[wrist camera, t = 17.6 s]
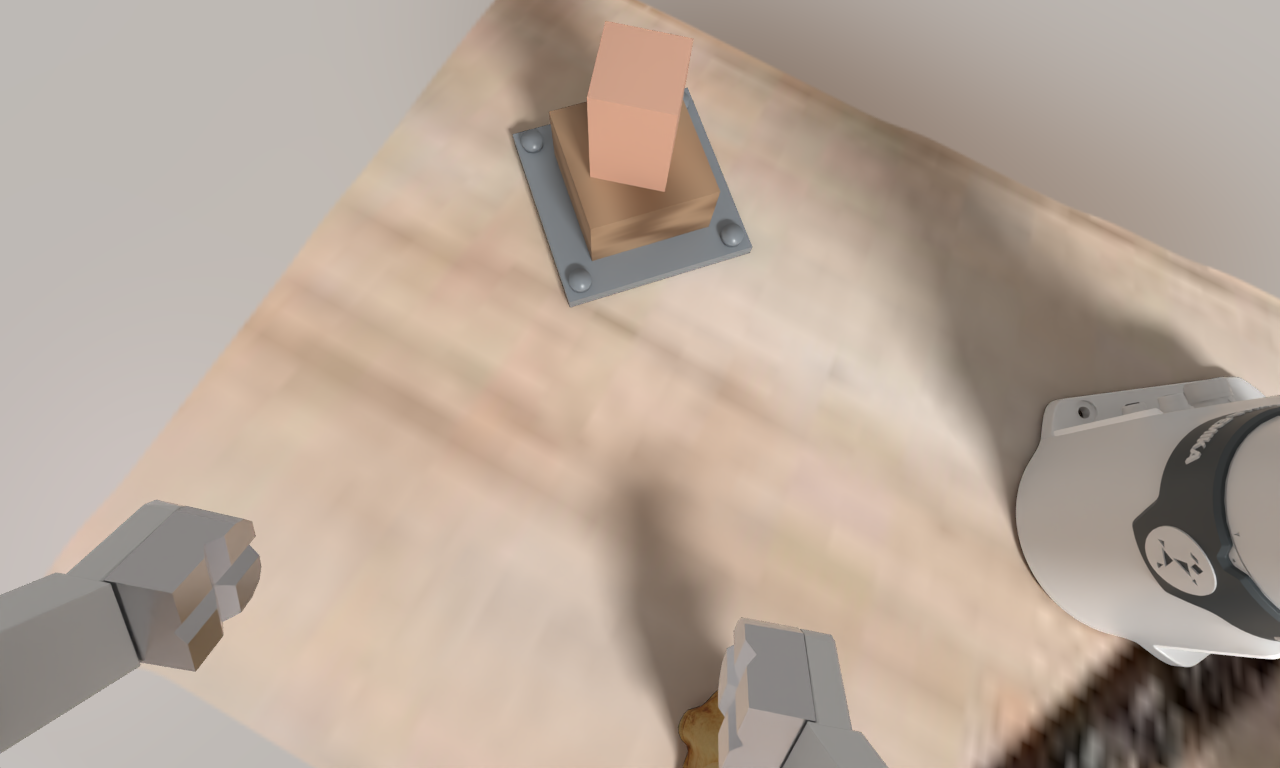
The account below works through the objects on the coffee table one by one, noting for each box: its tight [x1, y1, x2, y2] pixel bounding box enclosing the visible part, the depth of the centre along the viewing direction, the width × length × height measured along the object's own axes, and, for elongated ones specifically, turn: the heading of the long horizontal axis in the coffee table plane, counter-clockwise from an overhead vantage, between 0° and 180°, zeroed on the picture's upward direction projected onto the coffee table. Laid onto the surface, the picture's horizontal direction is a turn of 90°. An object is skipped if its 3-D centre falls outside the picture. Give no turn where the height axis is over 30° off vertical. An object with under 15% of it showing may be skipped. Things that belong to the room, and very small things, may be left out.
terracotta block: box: [587, 21, 693, 192], centre depth 40 cm, size 5×5×8 cm
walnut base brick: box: [549, 100, 720, 261], centre depth 46 cm, size 9×9×5 cm
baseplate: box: [513, 88, 752, 307], centre depth 49 cm, size 14×14×2 cm
